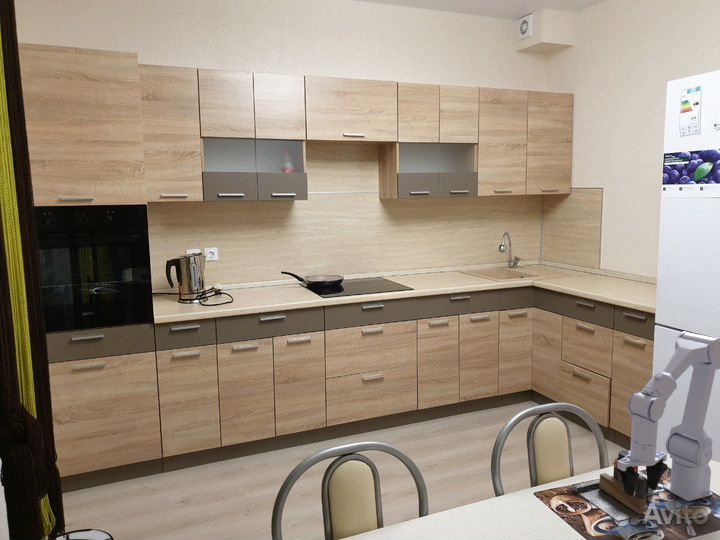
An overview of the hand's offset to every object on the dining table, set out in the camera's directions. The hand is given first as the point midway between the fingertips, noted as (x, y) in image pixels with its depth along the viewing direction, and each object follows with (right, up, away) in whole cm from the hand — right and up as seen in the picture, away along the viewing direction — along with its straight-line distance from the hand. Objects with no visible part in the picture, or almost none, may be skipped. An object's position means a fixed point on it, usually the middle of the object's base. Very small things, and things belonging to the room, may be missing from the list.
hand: (640, 491), depth 139 cm
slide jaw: (-2, -5, +6) cm, 8 cm away
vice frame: (-1, -5, +8) cm, 9 cm away
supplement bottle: (+1, -5, +11) cm, 12 cm away
